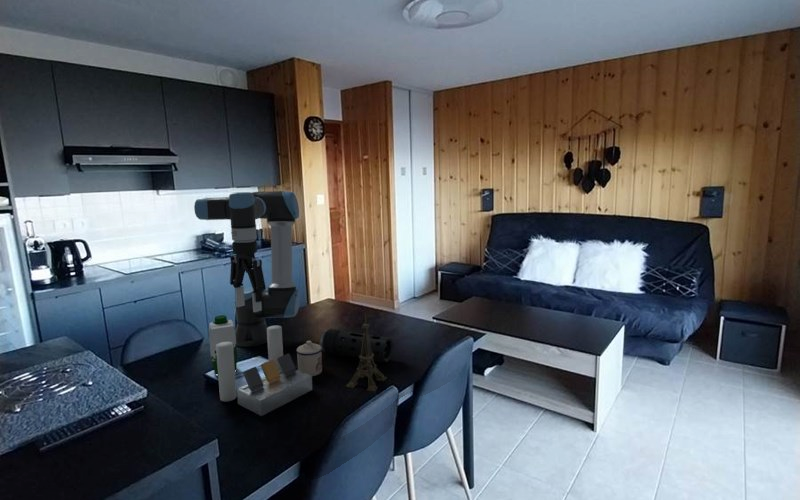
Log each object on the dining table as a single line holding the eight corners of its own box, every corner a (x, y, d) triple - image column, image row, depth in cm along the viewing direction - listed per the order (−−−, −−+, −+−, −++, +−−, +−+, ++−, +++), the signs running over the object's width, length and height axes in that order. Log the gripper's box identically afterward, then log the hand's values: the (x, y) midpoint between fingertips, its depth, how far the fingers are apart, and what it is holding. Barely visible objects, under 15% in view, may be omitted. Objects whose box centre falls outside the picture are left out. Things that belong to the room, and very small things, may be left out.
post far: (266, 376, 154) (263, 328, 152) (278, 371, 158) (275, 324, 155) (275, 380, 152) (272, 331, 149) (287, 375, 155) (284, 327, 152)
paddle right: (285, 377, 144) (277, 358, 145) (294, 372, 147) (286, 354, 148) (287, 375, 143) (279, 357, 144) (297, 371, 146) (289, 353, 147)
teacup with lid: (321, 376, 154) (320, 345, 152) (295, 378, 153) (294, 346, 152) (324, 362, 166) (323, 333, 164) (300, 363, 165) (299, 334, 163)
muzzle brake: (383, 368, 161) (383, 342, 159) (318, 357, 171) (317, 332, 170) (393, 358, 170) (393, 333, 168) (331, 348, 180) (330, 324, 178)
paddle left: (251, 392, 133) (242, 372, 135) (262, 387, 137) (253, 368, 138) (253, 390, 132) (244, 371, 134) (264, 385, 136) (256, 366, 137)
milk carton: (236, 363, 165) (232, 313, 162) (239, 373, 158) (235, 320, 154) (211, 368, 161) (207, 317, 158) (213, 378, 154) (208, 324, 150)
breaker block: (237, 403, 136) (236, 388, 135) (289, 380, 152) (288, 365, 151) (261, 416, 129) (260, 399, 128) (312, 389, 145) (311, 374, 144)
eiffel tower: (346, 386, 147) (344, 315, 143) (359, 373, 157) (358, 306, 153) (374, 391, 143) (373, 319, 139) (386, 378, 153) (386, 309, 149)
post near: (217, 398, 139) (212, 345, 137) (231, 392, 143) (227, 340, 140) (225, 403, 137) (221, 348, 134) (239, 396, 140) (236, 343, 138)
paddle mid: (268, 384, 138) (260, 365, 140) (278, 379, 142) (270, 361, 143) (271, 382, 138) (262, 363, 139) (281, 378, 141) (273, 359, 142)
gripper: (215, 239, 143) (220, 305, 146) (254, 245, 130) (259, 317, 134) (235, 236, 149) (240, 300, 152) (275, 242, 136) (278, 311, 140)
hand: (248, 308), depth 143 cm, fingers open, 9 cm apart
